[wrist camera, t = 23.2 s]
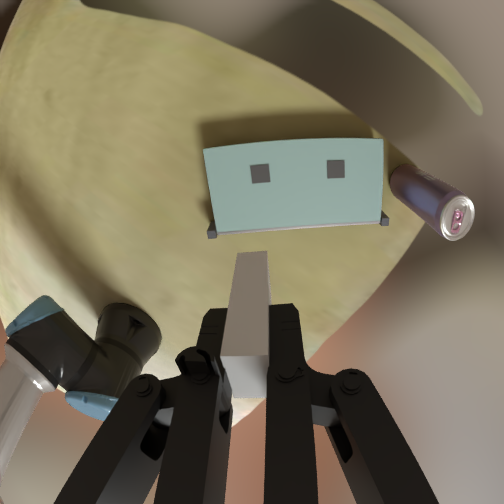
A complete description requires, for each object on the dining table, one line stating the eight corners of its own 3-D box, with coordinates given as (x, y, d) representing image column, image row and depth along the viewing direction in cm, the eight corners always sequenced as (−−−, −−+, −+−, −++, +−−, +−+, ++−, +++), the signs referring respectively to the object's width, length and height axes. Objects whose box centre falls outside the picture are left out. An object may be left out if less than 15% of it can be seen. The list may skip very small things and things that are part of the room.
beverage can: (386, 198, 38) (434, 242, 25) (389, 161, 35) (445, 192, 22) (416, 199, 38) (469, 242, 25) (420, 165, 35) (479, 195, 22)
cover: (218, 233, 40) (217, 236, 39) (204, 148, 34) (202, 149, 33) (378, 222, 37) (380, 224, 37) (381, 138, 31) (383, 139, 31)
